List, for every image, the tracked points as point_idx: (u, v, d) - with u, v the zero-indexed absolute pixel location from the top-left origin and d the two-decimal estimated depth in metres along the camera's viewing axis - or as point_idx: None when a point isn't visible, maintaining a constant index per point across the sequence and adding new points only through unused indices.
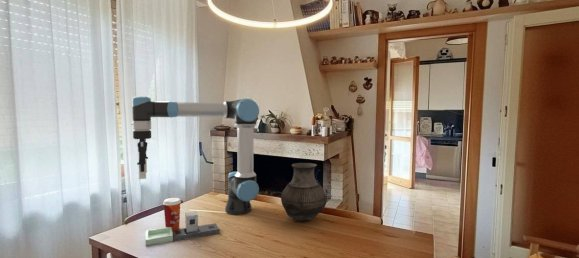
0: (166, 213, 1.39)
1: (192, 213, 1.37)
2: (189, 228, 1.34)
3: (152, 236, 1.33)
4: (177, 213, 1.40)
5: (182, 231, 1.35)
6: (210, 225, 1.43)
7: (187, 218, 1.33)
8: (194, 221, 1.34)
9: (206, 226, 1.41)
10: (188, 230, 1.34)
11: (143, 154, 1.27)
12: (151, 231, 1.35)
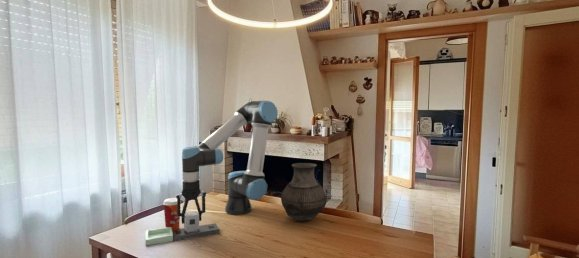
0: (166, 213, 1.39)
1: (192, 213, 1.37)
2: (189, 227, 1.34)
3: (152, 236, 1.33)
4: None
5: (182, 231, 1.35)
6: (210, 225, 1.43)
7: (187, 218, 1.33)
8: (194, 221, 1.34)
9: (206, 226, 1.41)
10: (188, 230, 1.34)
11: (177, 207, 1.33)
12: (151, 231, 1.35)
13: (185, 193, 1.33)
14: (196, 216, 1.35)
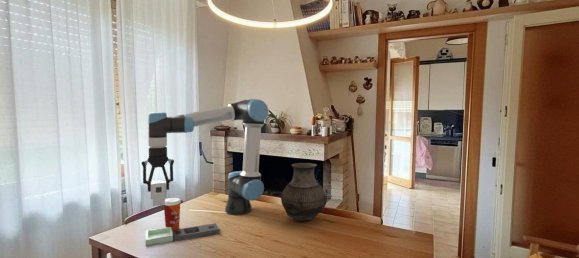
0: (166, 213, 1.39)
1: (159, 181, 1.31)
2: (155, 196, 1.28)
3: (152, 236, 1.33)
4: (177, 213, 1.40)
5: (182, 231, 1.35)
6: (210, 225, 1.43)
7: (153, 186, 1.28)
8: (160, 189, 1.29)
9: (206, 226, 1.41)
10: (154, 198, 1.28)
11: (143, 174, 1.28)
12: (151, 231, 1.35)
13: (151, 160, 1.28)
14: (163, 184, 1.30)
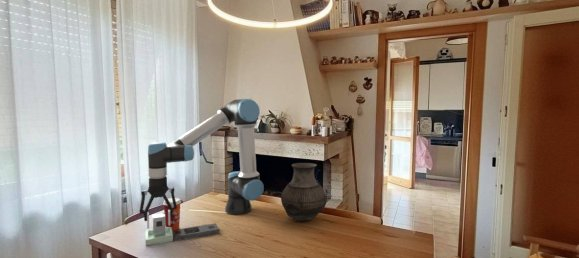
0: (166, 213, 1.39)
1: (160, 215, 1.32)
2: (156, 230, 1.29)
3: (152, 236, 1.33)
4: (177, 213, 1.40)
5: (182, 231, 1.35)
6: (210, 225, 1.43)
7: (154, 220, 1.29)
8: (161, 223, 1.30)
9: (206, 226, 1.41)
10: (155, 232, 1.29)
11: None
12: (151, 231, 1.35)
13: (151, 190, 1.29)
14: (163, 218, 1.31)
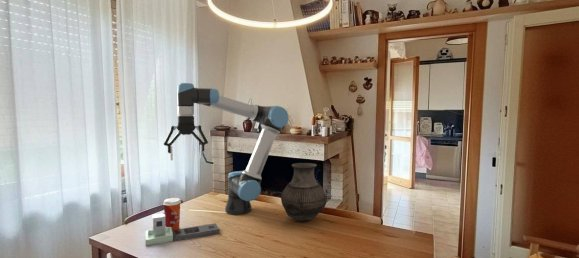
0: (166, 213, 1.39)
1: (160, 215, 1.32)
2: (156, 230, 1.29)
3: (152, 236, 1.33)
4: (177, 213, 1.40)
5: (182, 231, 1.35)
6: (210, 225, 1.43)
7: (154, 220, 1.29)
8: (161, 223, 1.30)
9: (206, 226, 1.41)
10: (155, 232, 1.29)
11: (167, 137, 1.37)
12: (151, 231, 1.35)
13: (180, 127, 1.38)
14: (163, 218, 1.31)
